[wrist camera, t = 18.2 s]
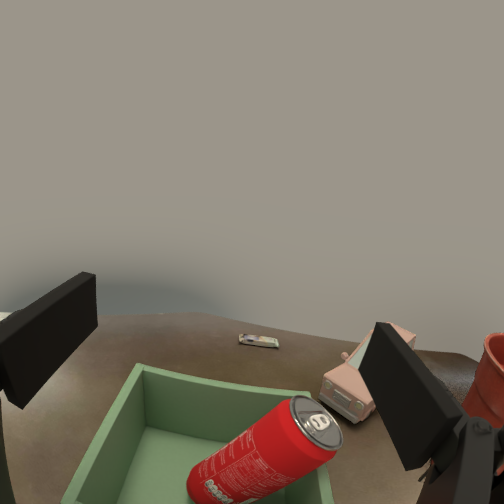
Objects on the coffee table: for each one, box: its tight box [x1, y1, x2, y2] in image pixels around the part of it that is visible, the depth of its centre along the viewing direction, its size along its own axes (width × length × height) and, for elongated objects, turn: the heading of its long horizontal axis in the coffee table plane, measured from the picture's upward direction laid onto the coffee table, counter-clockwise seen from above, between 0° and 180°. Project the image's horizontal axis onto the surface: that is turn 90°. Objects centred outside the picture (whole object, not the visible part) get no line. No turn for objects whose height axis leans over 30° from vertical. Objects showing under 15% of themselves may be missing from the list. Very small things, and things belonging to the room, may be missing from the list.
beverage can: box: [186, 395, 343, 504], centre depth 16 cm, size 5×5×12 cm
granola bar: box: [239, 334, 279, 347], centre depth 46 cm, size 7×2×1 cm, turn 90°
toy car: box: [319, 321, 416, 424], centre depth 34 cm, size 9×15×10 cm, turn 128°
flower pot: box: [431, 333, 504, 475], centre depth 17 cm, size 16×16×16 cm
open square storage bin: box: [60, 363, 334, 504], centre depth 16 cm, size 16×16×9 cm
